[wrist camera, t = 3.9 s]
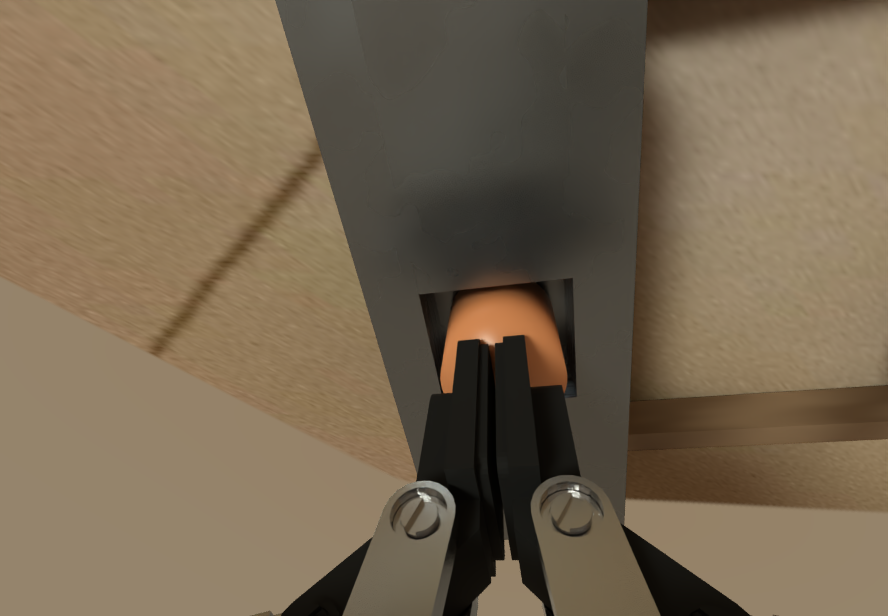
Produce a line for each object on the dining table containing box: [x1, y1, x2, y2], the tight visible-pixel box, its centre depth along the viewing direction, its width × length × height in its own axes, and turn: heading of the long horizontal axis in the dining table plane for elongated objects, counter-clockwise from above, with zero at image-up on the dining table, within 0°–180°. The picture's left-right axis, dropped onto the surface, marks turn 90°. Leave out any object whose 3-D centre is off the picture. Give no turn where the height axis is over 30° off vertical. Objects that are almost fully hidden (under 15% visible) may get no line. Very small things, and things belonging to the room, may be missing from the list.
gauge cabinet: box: [275, 0, 648, 540], centre depth 15 cm, size 7×18×6 cm, turn 10°
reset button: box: [440, 282, 567, 393], centre depth 13 cm, size 3×3×3 cm
